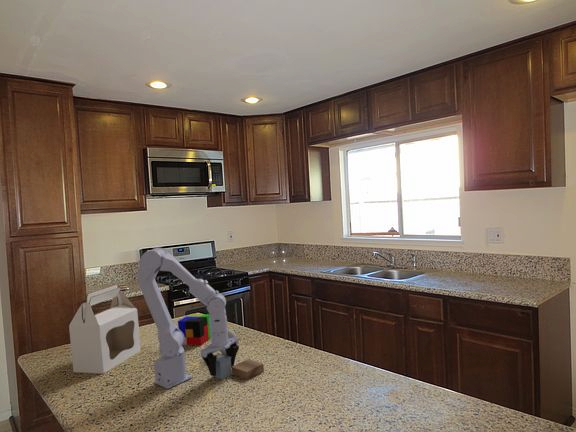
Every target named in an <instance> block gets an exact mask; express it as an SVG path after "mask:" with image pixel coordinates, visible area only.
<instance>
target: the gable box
mask: <svg viewBox="0 0 576 432" xmlns="http://www.w3.org/2000/svg"><path fill="white" fill-rule="evenodd" d="M110 299H112V300H111V304H110V307H109V308H108V309H105V310H102V311H100V312H97V313H95V312H94V310H93V308H92V306H94V305H97V304H100V303H102V302H105V301H108V300H110ZM138 315H139V314H138V309H137V307H136V306H135V305H134V304H133V303H132V301H131V300H130V299H129V298H128V297H127V296H126V294H124V292H123V291H122V290H121V287H118V285H117V284H113V285H110V286H108V287H104V288H101V289H98V290H95V291H91V292H89V293H87V294H86V297H85V302H83V303H81V305H80V306H79V307H78V309H77V311H76V313H75V315H74V316H73V318H72V320H71V321H70V323H69V325H68V329H69V331H68V332H69V339H70V350H71V360H72V369H73V370H72V371H73V373H80V374H81V373H83V374H97V375H98V374H99V375H103V374H106V373H107V372H109V371H110V370H112V369H113V368H115V367H117V366H118V365H120V364H122V363H124V362H125V361H126V360H128V359H130V358H131V357H133V356H135V355H136V354H138V353H139V352H141V339H140V329H139V328H140V327H139V316H138Z"/></svg>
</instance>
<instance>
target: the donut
mask: <svg viewBox="0 0 576 432" xmlns="http://www.w3.org/2000/svg"><path fill="white" fill-rule="evenodd" d="M233 337H237V338H238V336H237V335H236V333H235V332H234V331H233V330H232V329H230V328H228V339H230V338H233ZM236 345H238V346H239V343H238V344H236ZM218 352H220V353H221V354H223V355H227V354H226V351H225V349H222V350H219V351H218Z"/></svg>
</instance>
